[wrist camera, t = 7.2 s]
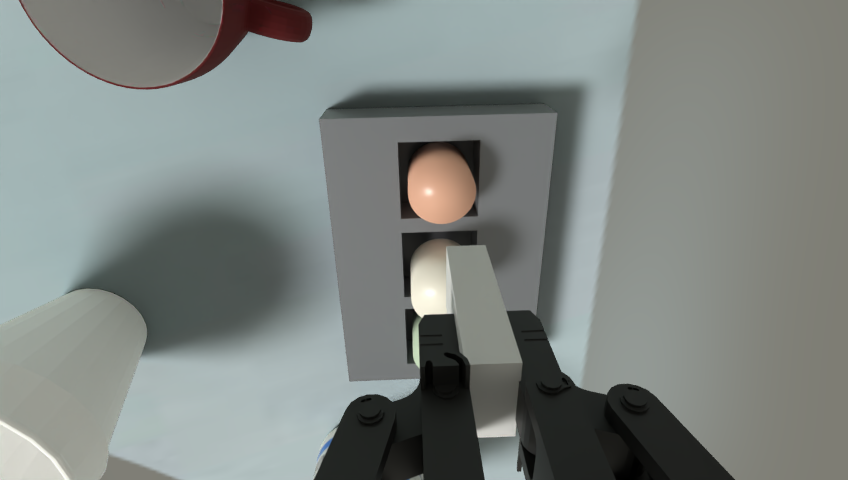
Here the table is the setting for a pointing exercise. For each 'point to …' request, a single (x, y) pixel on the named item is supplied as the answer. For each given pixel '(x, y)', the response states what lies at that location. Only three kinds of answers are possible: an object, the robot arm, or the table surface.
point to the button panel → (405, 231)
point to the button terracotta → (440, 183)
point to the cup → (66, 384)
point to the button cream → (429, 277)
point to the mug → (159, 35)
